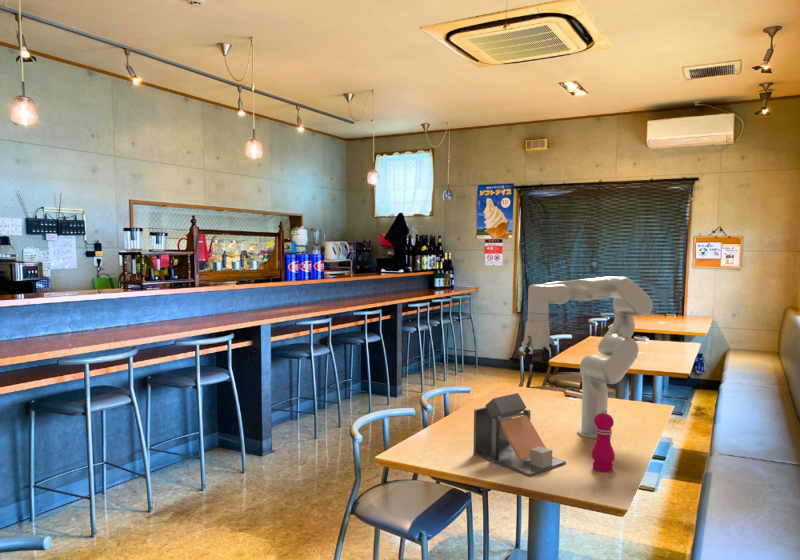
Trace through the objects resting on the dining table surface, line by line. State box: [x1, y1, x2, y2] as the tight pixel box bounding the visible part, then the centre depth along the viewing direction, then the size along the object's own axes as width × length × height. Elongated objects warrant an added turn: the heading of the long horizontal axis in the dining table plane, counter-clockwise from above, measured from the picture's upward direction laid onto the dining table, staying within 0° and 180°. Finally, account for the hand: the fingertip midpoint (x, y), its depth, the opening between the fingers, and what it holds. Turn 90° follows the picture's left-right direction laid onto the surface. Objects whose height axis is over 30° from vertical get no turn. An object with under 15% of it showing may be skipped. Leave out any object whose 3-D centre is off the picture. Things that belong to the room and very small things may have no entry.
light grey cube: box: [530, 446, 553, 468], centre depth 187 cm, size 5×5×5 cm
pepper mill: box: [591, 409, 616, 473], centre depth 185 cm, size 7×7×20 cm
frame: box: [472, 406, 567, 478], centre depth 193 cm, size 19×25×16 cm
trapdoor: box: [484, 392, 547, 461], centre depth 194 cm, size 14×22×5 cm
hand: (537, 362), depth 210 cm, fingers open, 9 cm apart
